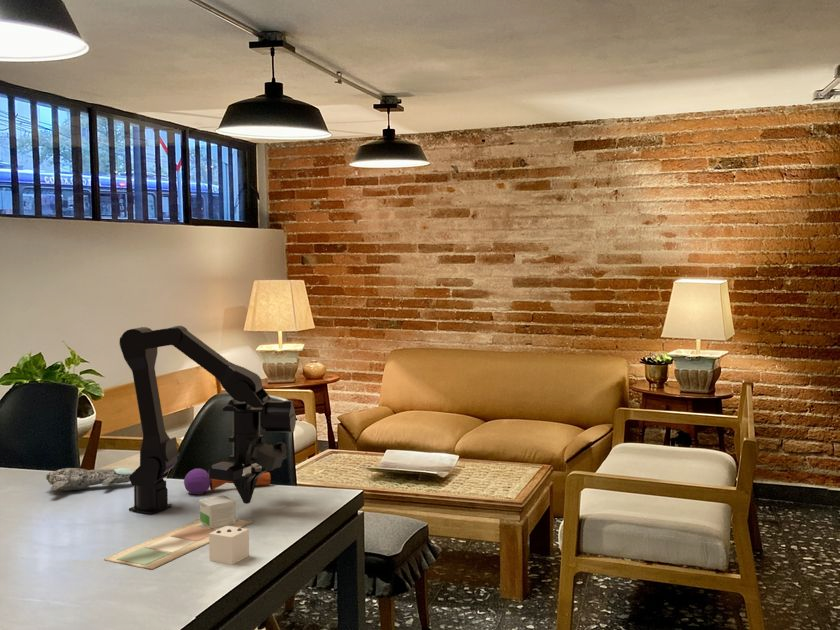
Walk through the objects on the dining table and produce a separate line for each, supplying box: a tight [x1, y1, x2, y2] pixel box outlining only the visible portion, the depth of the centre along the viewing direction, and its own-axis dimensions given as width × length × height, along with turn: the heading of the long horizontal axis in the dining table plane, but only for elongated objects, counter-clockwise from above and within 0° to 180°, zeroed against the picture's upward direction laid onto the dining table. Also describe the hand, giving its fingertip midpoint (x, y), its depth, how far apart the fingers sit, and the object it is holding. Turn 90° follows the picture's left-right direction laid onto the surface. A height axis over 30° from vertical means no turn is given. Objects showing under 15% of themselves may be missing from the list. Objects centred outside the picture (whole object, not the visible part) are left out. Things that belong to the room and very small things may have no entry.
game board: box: [103, 518, 252, 571], centre depth 158 cm, size 11×29×1 cm, turn 156°
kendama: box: [183, 468, 272, 495], centre depth 194 cm, size 6×6×20 cm
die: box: [208, 526, 250, 565], centre depth 149 cm, size 5×5×5 cm
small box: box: [198, 494, 237, 529], centre depth 168 cm, size 6×6×5 cm
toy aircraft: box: [45, 467, 135, 492], centre depth 194 cm, size 16×20×5 cm
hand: (246, 503), depth 177 cm, fingers closed
